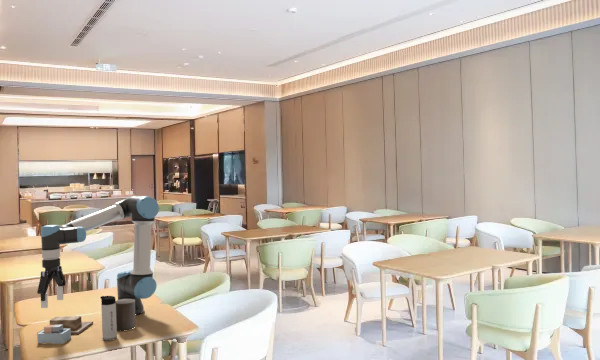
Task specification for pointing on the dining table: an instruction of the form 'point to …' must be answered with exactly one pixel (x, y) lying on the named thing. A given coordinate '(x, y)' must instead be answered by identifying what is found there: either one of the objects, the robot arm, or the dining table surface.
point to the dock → (77, 331)
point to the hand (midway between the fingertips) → (52, 303)
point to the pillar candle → (125, 314)
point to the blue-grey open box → (54, 337)
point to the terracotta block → (48, 329)
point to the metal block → (57, 328)
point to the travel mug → (109, 317)
